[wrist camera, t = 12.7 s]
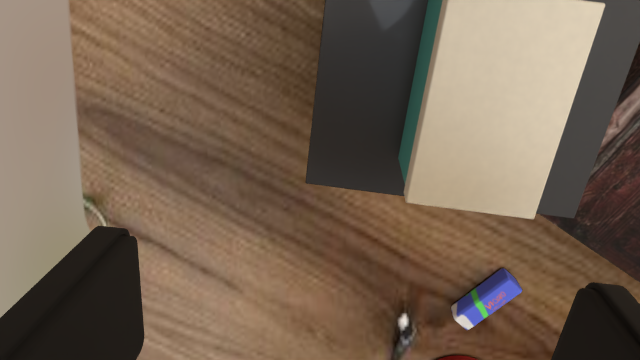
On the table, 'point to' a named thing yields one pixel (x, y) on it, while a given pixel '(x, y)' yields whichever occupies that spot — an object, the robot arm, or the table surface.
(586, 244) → the hardback book
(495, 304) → the eraser
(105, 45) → the table surface
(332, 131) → the shelf rack
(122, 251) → the robot arm
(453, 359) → the canned food
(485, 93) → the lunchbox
